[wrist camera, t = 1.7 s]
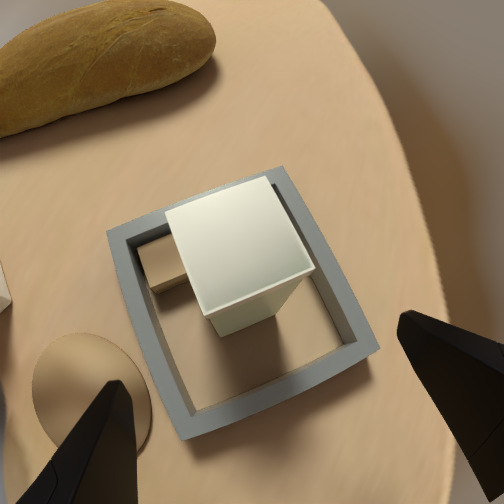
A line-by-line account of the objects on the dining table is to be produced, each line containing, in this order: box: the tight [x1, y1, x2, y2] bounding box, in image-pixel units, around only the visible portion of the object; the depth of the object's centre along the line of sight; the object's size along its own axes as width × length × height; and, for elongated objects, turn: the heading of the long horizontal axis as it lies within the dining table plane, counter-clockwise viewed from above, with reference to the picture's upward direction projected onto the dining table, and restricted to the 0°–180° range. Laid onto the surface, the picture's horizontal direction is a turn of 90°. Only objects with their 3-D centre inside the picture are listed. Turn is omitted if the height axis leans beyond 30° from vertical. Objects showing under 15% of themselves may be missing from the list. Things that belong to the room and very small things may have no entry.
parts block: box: [137, 233, 190, 294], centre depth 21 cm, size 3×3×2 cm
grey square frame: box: [106, 166, 380, 441], centre depth 20 cm, size 14×13×2 cm
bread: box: [0, 0, 216, 138], centre depth 25 cm, size 18×35×10 cm, turn 98°
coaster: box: [32, 333, 151, 451], centre depth 17 cm, size 10×10×1 cm
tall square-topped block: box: [165, 176, 315, 338], centre depth 16 cm, size 4×4×10 cm
